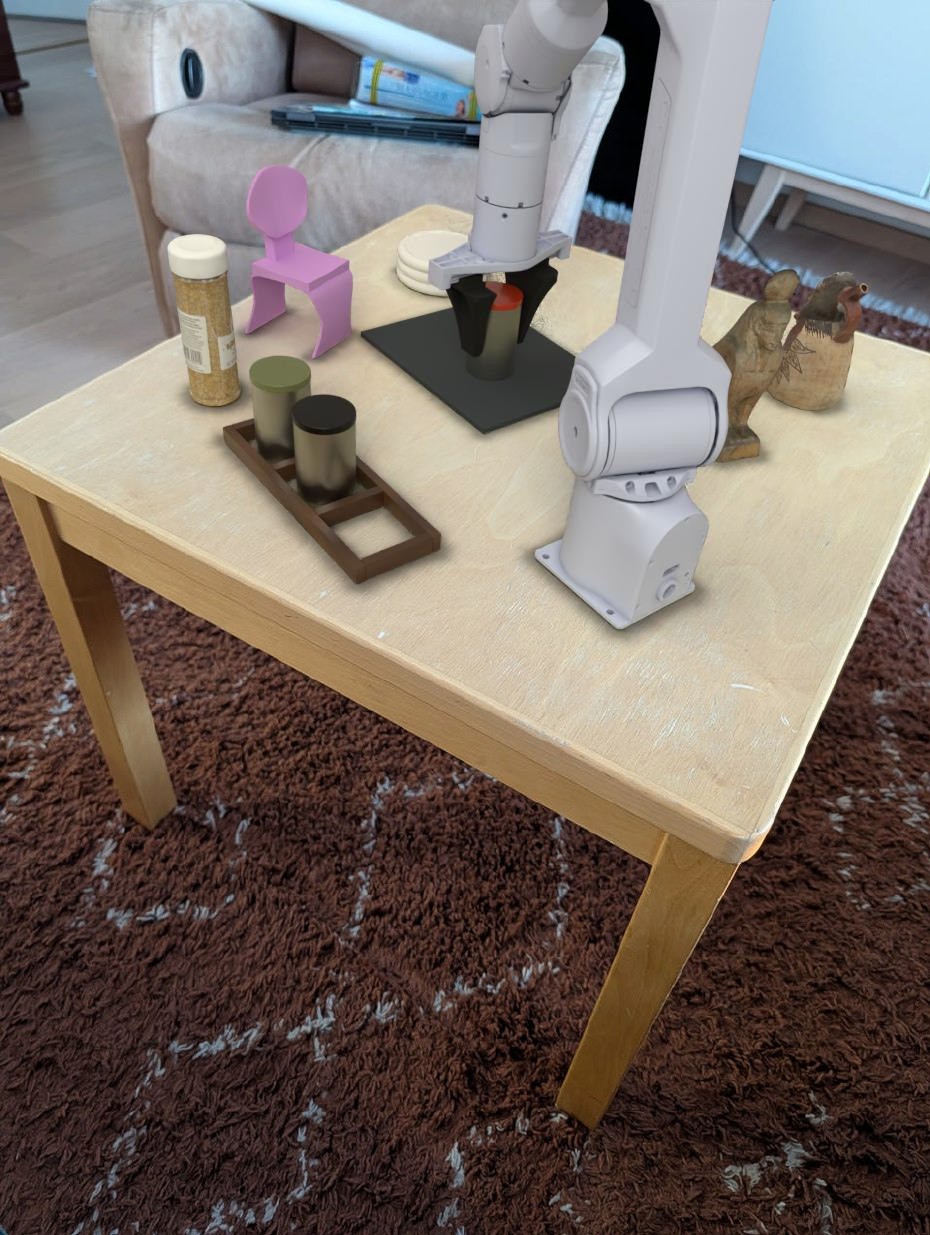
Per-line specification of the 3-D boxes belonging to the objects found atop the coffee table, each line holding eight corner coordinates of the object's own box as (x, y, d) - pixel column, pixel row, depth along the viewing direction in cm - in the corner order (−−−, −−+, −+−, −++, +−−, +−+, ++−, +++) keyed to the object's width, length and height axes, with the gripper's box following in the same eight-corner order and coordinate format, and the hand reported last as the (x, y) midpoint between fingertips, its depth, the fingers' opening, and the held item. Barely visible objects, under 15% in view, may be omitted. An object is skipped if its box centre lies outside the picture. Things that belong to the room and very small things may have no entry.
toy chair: (312, 365, 86) (305, 201, 76) (237, 337, 89) (221, 175, 79) (361, 331, 92) (362, 174, 81) (290, 306, 95) (281, 150, 84)
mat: (614, 387, 88) (615, 382, 88) (483, 434, 81) (483, 429, 80) (487, 302, 99) (487, 297, 99) (360, 336, 91) (360, 331, 91)
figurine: (812, 371, 94) (856, 254, 85) (853, 408, 89) (904, 288, 81) (751, 377, 92) (791, 258, 83) (790, 415, 87) (836, 293, 79)
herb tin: (324, 457, 76) (322, 376, 71) (273, 474, 74) (267, 392, 69) (296, 430, 79) (292, 349, 73) (246, 445, 76) (238, 364, 71)
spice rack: (440, 549, 69) (441, 534, 68) (356, 584, 65) (356, 568, 64) (302, 418, 80) (301, 403, 79) (223, 442, 77) (222, 427, 75)
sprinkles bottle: (250, 400, 81) (235, 250, 72) (200, 413, 79) (179, 259, 70) (229, 376, 84) (212, 228, 75) (180, 388, 82) (157, 236, 73)
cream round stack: (432, 251, 107) (434, 220, 105) (503, 278, 103) (507, 247, 101) (377, 277, 101) (378, 245, 98) (450, 307, 97) (453, 275, 95)
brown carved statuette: (750, 477, 83) (849, 314, 69) (696, 482, 82) (785, 316, 67) (701, 387, 90) (782, 218, 75) (650, 390, 88) (722, 219, 73)
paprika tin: (523, 373, 88) (534, 297, 82) (485, 385, 85) (493, 309, 80) (493, 351, 90) (501, 277, 85) (455, 363, 88) (461, 287, 83)
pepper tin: (368, 499, 73) (368, 417, 67) (315, 518, 70) (312, 435, 65) (336, 469, 75) (335, 387, 70) (285, 487, 73) (279, 404, 68)
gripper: (544, 167, 82) (524, 310, 92) (410, 192, 75) (404, 344, 85) (597, 194, 78) (571, 341, 88) (461, 223, 72) (449, 379, 81)
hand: (492, 345), depth 86 cm, fingers closed on paprika tin, 4 cm apart
